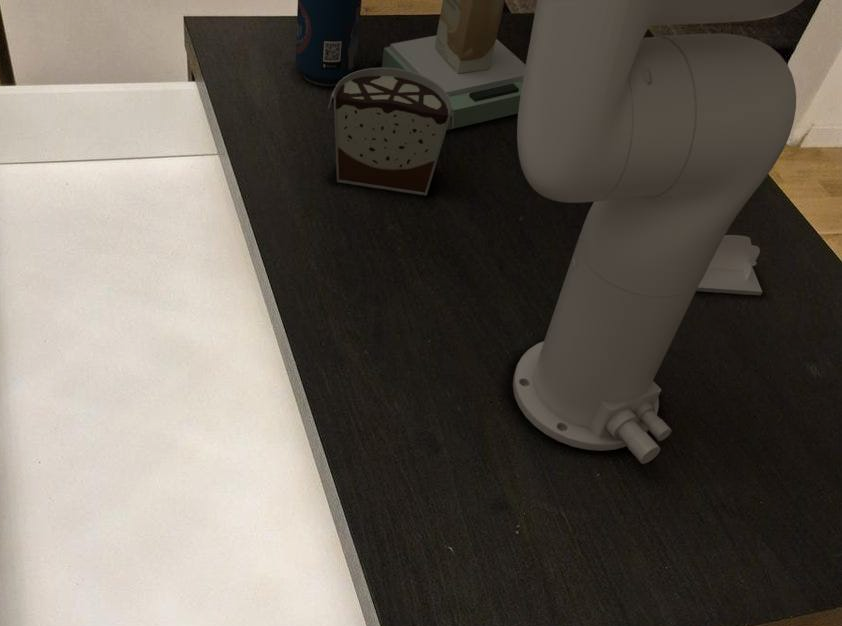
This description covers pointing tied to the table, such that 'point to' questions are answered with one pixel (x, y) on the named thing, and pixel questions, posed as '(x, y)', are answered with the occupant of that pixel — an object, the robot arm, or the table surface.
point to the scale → (464, 79)
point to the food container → (389, 129)
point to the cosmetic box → (468, 33)
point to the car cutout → (732, 268)
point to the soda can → (327, 39)
